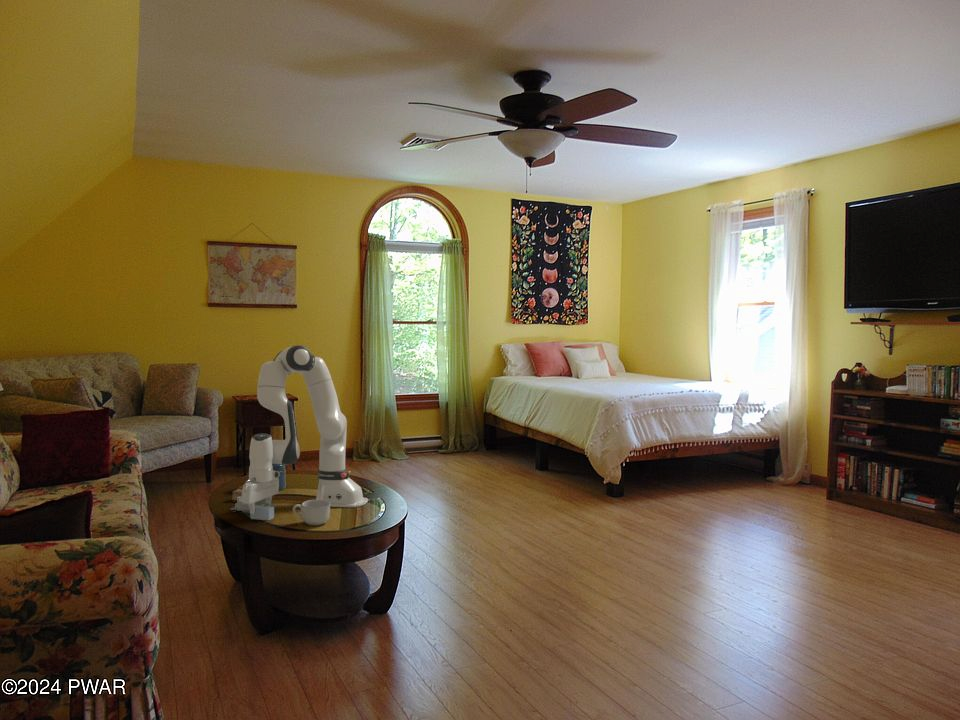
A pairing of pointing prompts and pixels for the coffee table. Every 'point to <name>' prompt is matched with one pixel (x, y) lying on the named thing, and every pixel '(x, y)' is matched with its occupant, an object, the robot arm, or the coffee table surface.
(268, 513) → the pale grey upright block
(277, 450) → the robot arm
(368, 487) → the coffee table surface
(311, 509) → the teacup
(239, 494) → the tan cardboard carton
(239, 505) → the jig
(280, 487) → the canister
